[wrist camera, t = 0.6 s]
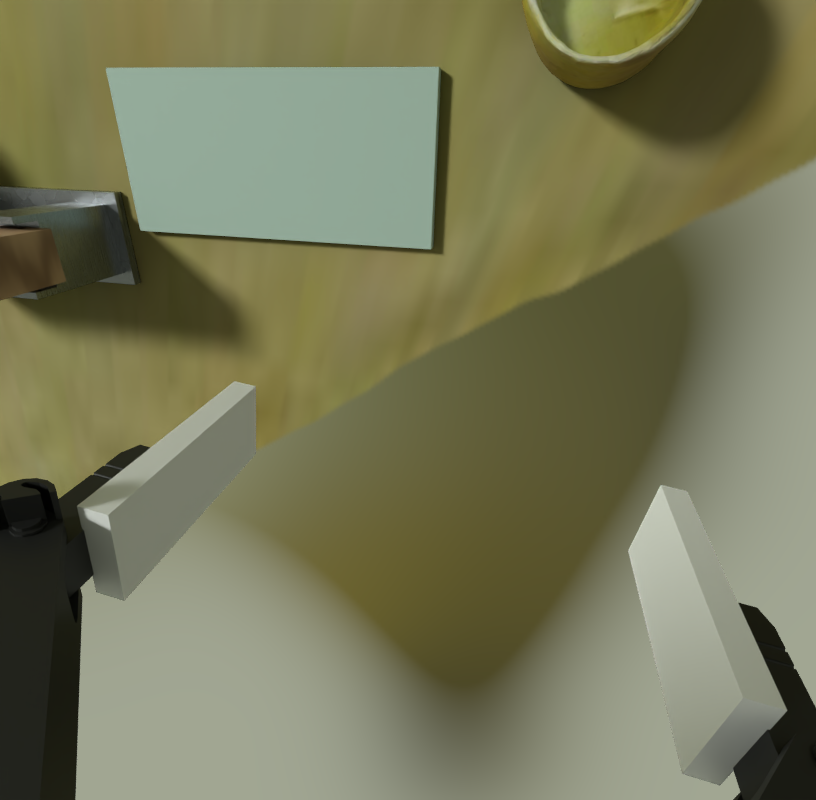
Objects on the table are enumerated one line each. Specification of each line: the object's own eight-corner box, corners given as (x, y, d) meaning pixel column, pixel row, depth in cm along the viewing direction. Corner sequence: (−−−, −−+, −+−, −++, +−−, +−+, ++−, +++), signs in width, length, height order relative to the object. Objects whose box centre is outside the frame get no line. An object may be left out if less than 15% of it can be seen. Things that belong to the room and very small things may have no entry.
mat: (115, 69, 39) (105, 67, 38) (441, 69, 34) (438, 66, 34) (148, 228, 45) (140, 230, 44) (433, 247, 40) (431, 249, 39)
